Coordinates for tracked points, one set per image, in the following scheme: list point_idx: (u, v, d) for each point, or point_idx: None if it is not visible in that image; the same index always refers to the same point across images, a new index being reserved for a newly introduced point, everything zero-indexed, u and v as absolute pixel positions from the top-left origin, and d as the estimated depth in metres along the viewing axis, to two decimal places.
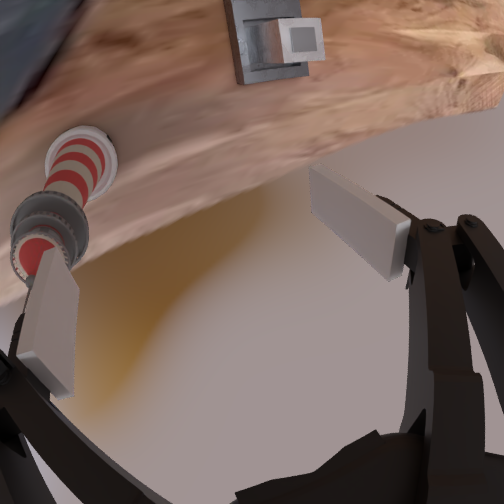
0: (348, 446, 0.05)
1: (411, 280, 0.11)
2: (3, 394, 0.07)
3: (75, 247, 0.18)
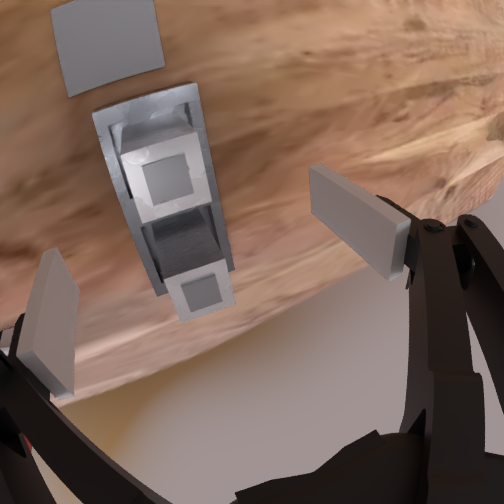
0: (348, 446, 0.05)
1: (411, 280, 0.11)
2: (3, 394, 0.07)
3: None
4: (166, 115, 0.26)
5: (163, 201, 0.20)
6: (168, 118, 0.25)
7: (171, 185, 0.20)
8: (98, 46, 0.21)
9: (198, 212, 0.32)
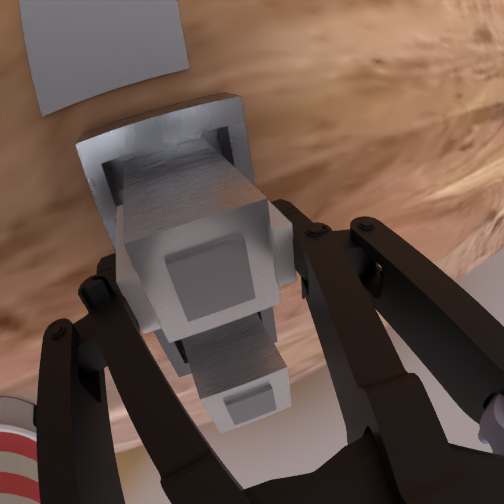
0: (348, 446, 0.05)
1: (306, 290, 0.12)
2: (97, 318, 0.09)
3: None
4: (191, 143, 0.18)
5: (204, 314, 0.12)
6: (196, 151, 0.17)
7: (219, 290, 0.12)
8: (86, 37, 0.13)
9: None
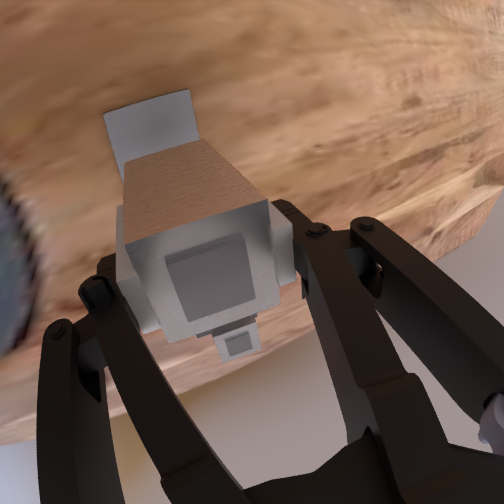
0: (348, 446, 0.05)
1: (306, 290, 0.12)
2: (97, 318, 0.09)
3: None
4: (191, 143, 0.18)
5: (205, 314, 0.12)
6: (196, 151, 0.17)
7: (219, 291, 0.12)
8: (149, 151, 0.31)
9: None
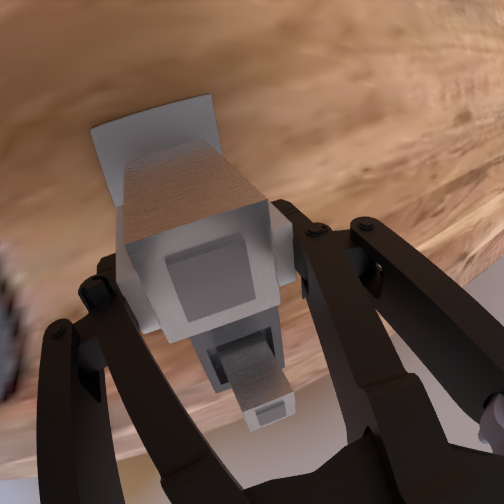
0: (348, 446, 0.05)
1: (306, 290, 0.12)
2: (97, 318, 0.09)
3: None
4: (191, 144, 0.18)
5: (205, 315, 0.12)
6: (196, 151, 0.17)
7: (219, 291, 0.12)
8: None
9: None
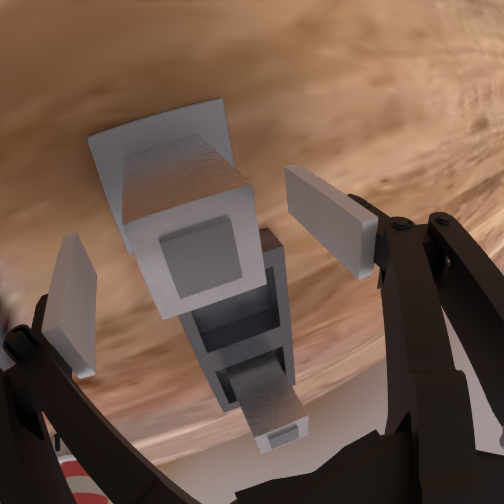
0: (348, 446, 0.05)
1: (382, 280, 0.12)
2: (26, 370, 0.07)
3: None
4: (186, 138, 0.19)
5: (195, 292, 0.13)
6: (190, 145, 0.18)
7: (208, 269, 0.13)
8: None
9: None
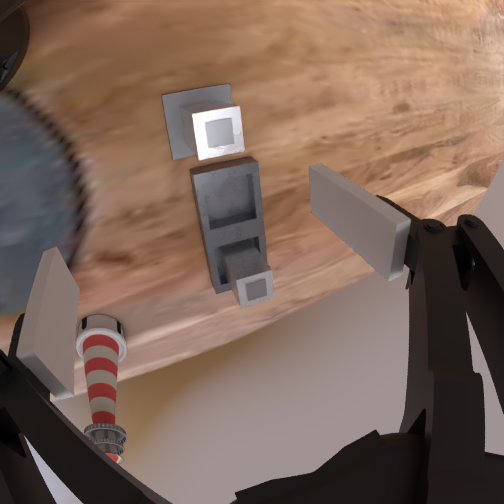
0: (348, 446, 0.05)
1: (411, 280, 0.11)
2: (3, 394, 0.07)
3: (123, 449, 0.33)
4: (211, 101, 0.38)
5: (215, 146, 0.32)
6: (214, 102, 0.37)
7: (221, 136, 0.32)
8: None
9: (249, 240, 0.50)
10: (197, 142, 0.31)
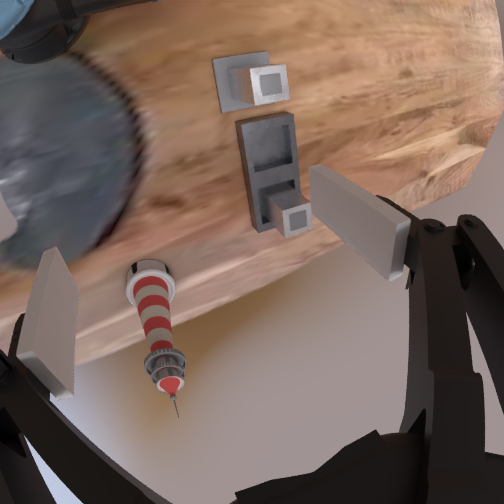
0: (348, 446, 0.05)
1: (411, 280, 0.11)
2: (3, 394, 0.07)
3: (184, 374, 0.41)
4: None
5: (267, 94, 0.38)
6: (257, 64, 0.43)
7: (272, 87, 0.38)
8: None
9: (286, 183, 0.56)
10: (253, 91, 0.37)
